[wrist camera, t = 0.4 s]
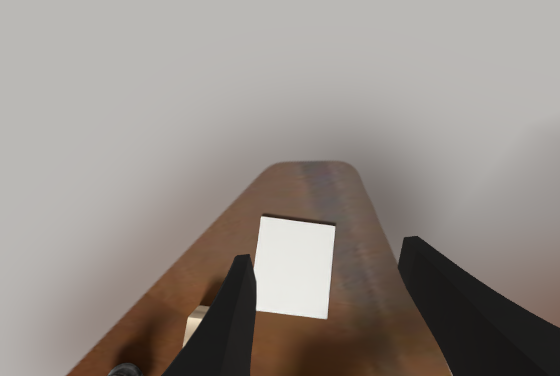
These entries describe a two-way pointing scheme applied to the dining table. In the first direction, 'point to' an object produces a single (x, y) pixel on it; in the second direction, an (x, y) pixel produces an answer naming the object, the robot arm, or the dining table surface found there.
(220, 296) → the robot arm
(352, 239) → the dining table surface
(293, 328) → the dining table surface
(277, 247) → the white mat
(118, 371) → the grey stone chess piece
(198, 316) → the birch block
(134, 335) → the dining table surface
